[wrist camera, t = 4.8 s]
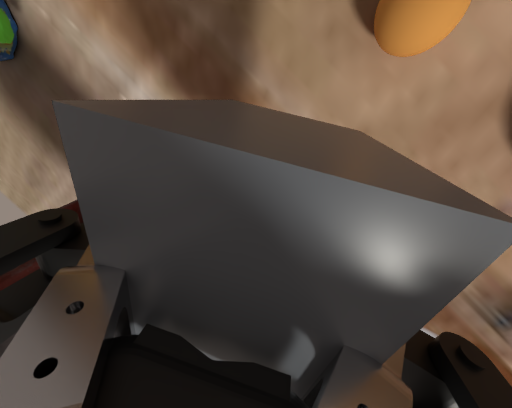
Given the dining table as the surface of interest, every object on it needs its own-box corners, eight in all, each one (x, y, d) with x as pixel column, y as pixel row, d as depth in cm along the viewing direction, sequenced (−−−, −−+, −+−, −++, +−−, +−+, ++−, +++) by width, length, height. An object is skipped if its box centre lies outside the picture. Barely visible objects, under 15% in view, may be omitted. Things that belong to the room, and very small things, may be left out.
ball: (459, -19, 14) (532, -72, 9) (416, 68, 16) (458, 57, 12) (385, -32, 14) (422, -90, 10) (354, 54, 17) (372, 38, 12)
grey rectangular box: (360, 131, 10) (528, 228, 2) (297, 273, 14) (290, 449, 7) (231, 99, 10) (52, 100, 3) (212, 246, 15) (126, 384, 8)
